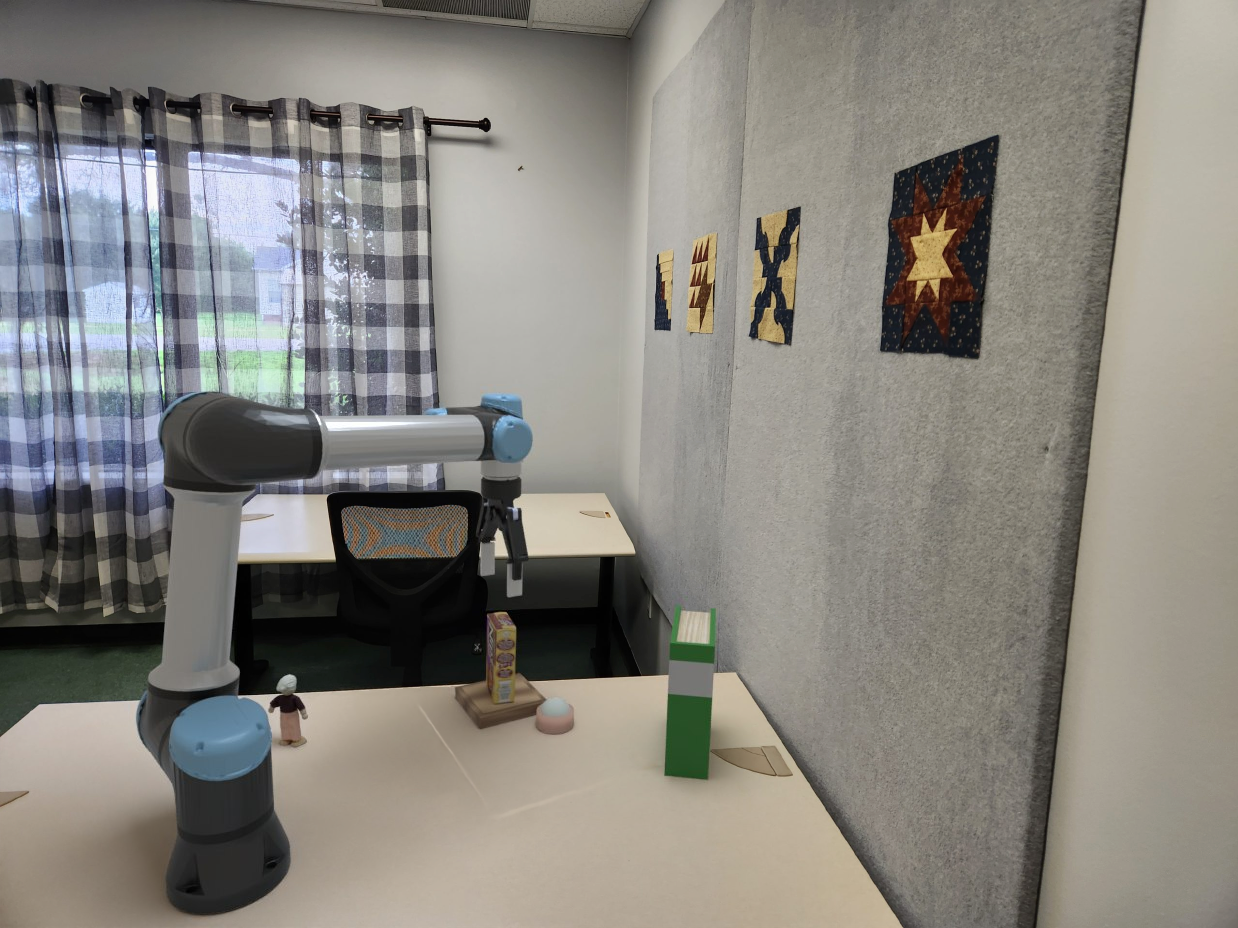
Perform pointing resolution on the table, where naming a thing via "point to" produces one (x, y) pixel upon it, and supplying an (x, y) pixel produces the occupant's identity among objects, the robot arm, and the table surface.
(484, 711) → the brown tray
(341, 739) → the table surface
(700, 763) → the hardback book
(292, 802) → the table surface
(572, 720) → the pincushion
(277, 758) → the table surface
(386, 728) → the table surface
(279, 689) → the grandmother figurine
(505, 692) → the candy box
